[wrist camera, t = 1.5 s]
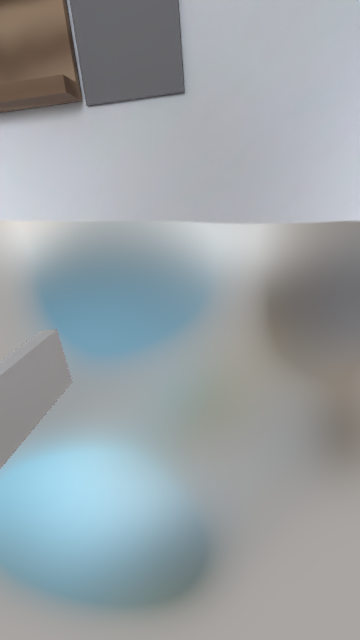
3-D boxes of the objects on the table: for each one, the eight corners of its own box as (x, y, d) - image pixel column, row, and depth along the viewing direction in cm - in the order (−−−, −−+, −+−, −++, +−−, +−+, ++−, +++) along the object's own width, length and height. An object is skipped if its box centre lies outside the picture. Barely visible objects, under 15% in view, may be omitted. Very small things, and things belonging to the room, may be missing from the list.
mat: (65, -37, 30) (63, -39, 30) (174, -61, 28) (173, -64, 28) (87, 105, 34) (86, 105, 34) (184, 92, 32) (183, 91, 32)
